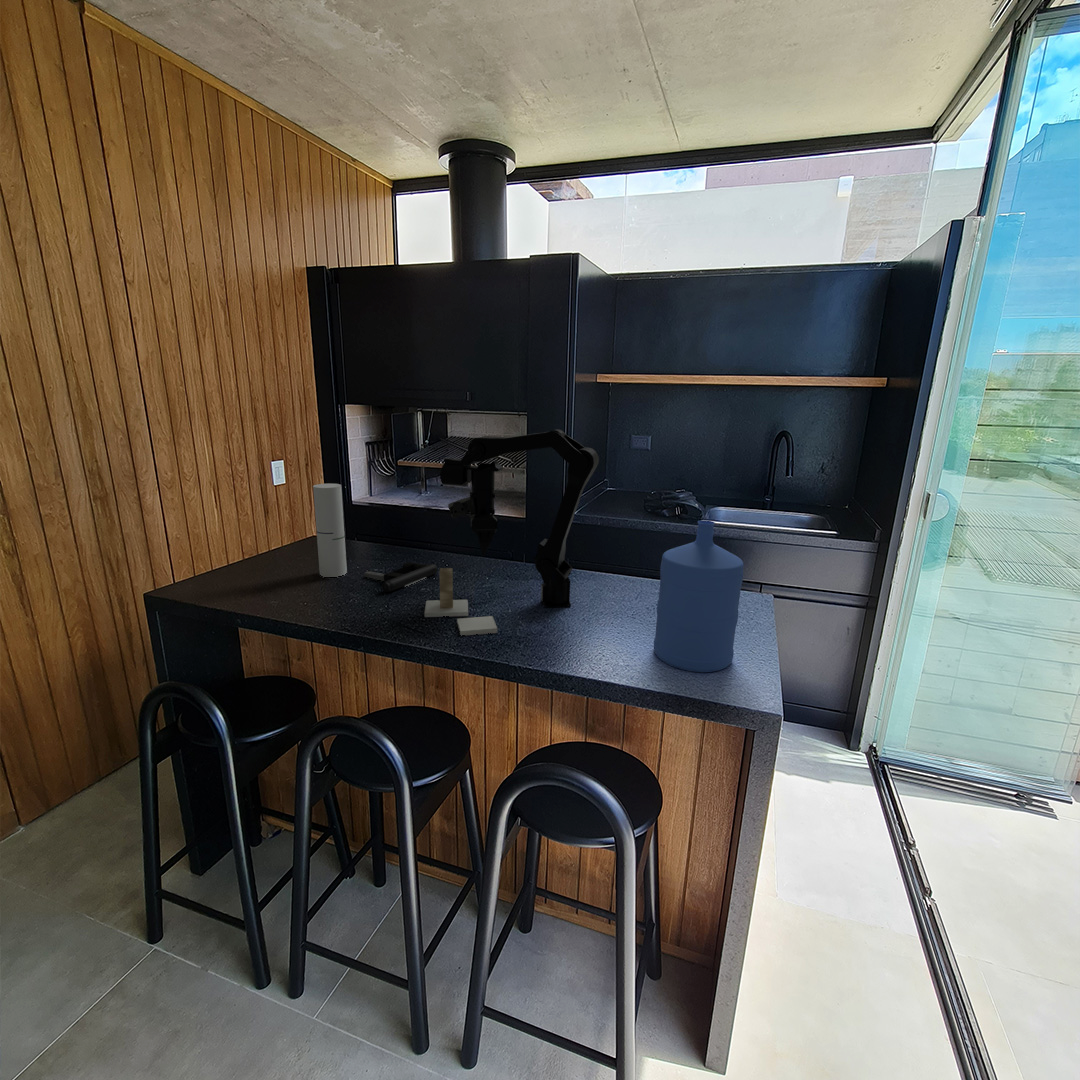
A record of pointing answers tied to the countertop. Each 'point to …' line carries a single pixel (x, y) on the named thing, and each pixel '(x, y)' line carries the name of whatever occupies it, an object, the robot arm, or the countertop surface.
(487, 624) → the tile
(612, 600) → the countertop surface
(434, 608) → the grey flat plate
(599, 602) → the countertop surface
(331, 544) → the cylindrical container
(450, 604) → the stick
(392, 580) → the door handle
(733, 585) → the water jug
